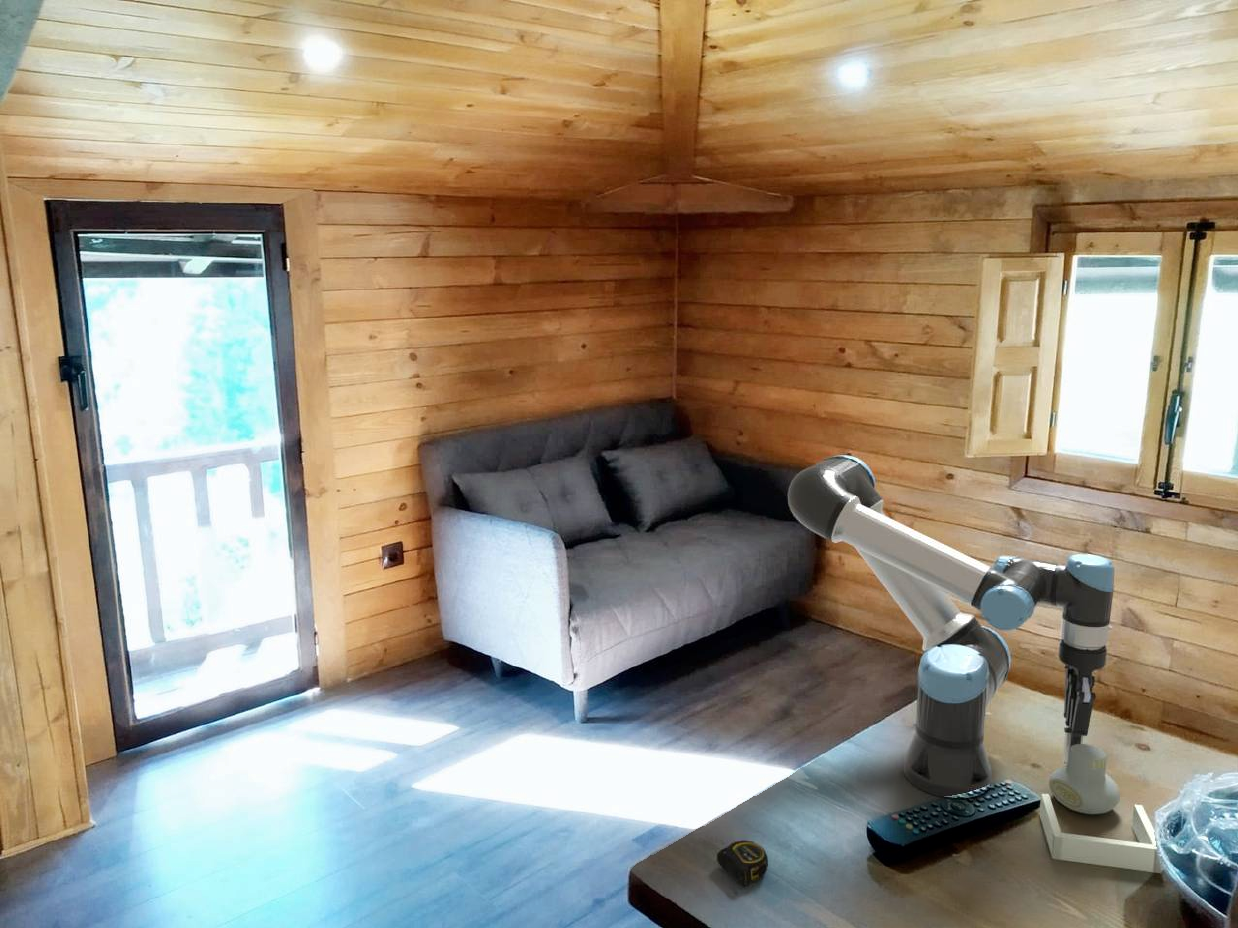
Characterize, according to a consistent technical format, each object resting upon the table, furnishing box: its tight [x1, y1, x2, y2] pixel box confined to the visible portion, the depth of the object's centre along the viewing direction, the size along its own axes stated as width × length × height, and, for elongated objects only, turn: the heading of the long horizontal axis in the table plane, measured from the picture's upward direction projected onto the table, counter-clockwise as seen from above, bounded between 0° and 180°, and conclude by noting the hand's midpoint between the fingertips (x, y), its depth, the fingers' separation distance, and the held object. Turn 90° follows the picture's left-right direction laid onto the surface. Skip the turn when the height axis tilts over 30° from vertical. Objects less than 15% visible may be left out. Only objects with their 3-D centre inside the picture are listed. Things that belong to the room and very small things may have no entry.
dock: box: [1039, 793, 1163, 874], centre depth 151 cm, size 15×12×4 cm
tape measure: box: [716, 840, 769, 887], centre depth 145 cm, size 7×7×4 cm
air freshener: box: [1048, 743, 1121, 815], centre depth 161 cm, size 11×8×10 cm
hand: (1071, 762), depth 171 cm, fingers closed
